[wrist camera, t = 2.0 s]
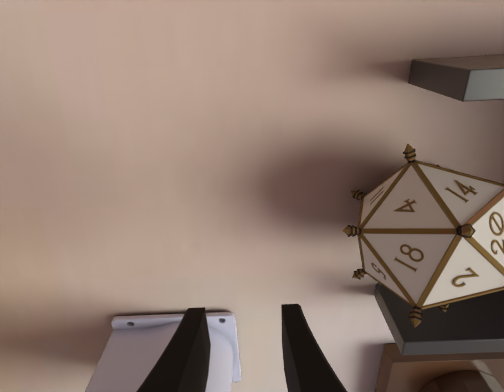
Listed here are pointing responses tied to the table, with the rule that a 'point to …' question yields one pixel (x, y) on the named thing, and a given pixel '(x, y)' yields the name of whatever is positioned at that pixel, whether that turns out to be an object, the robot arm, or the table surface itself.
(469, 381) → the box
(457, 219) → the game die
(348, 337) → the table surface
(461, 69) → the cubby
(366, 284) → the table surface
